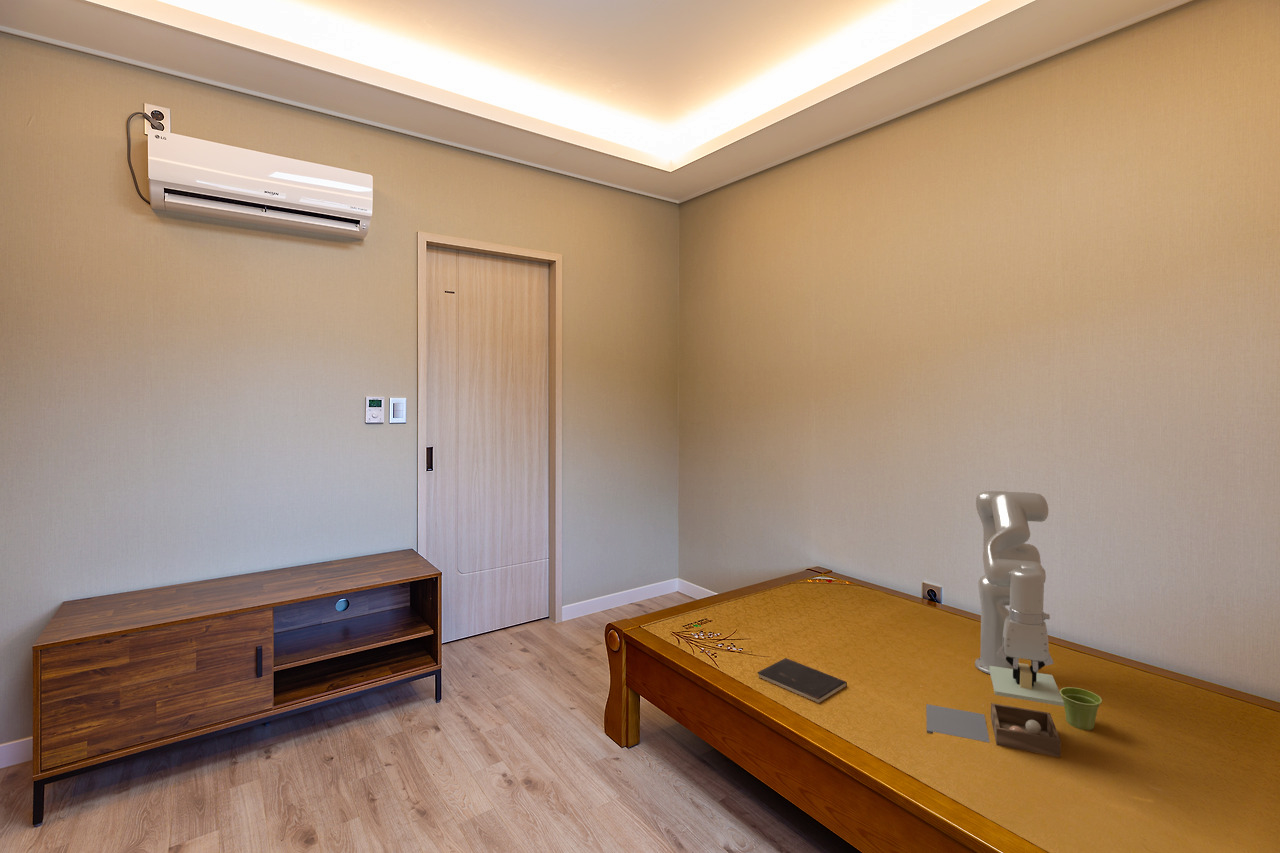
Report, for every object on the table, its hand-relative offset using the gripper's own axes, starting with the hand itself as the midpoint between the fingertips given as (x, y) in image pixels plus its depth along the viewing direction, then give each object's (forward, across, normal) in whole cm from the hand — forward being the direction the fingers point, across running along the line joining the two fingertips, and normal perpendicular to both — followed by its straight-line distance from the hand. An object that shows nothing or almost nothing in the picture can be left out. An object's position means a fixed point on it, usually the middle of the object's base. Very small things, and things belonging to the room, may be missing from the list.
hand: (1024, 682), depth 163 cm
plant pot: (+16, -15, -12) cm, 25 cm away
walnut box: (+15, 0, +1) cm, 15 cm away
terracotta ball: (+15, +2, +3) cm, 15 cm away
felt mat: (+15, +16, 0) cm, 22 cm away
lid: (+1, 0, 0) cm, 1 cm away
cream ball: (+15, -2, -2) cm, 15 cm away
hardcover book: (+16, +60, -9) cm, 63 cm away
